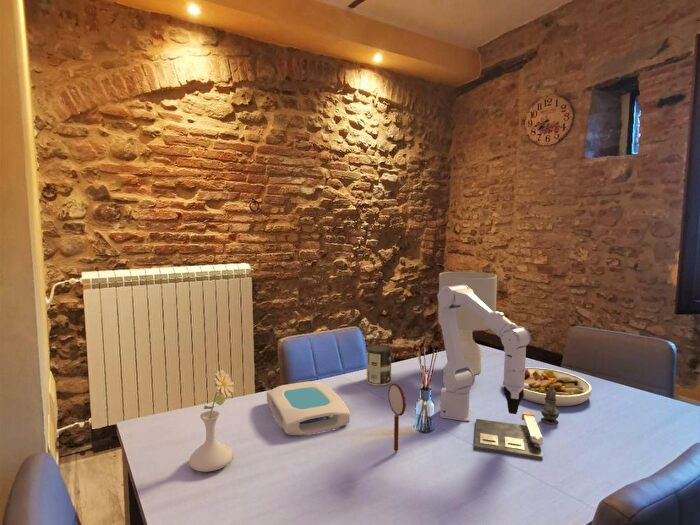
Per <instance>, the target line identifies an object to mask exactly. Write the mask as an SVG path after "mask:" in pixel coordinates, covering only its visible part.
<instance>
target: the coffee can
mask: <svg viewBox="0 0 700 525" xmlns="http://www.w3.org/2000/svg"><path fill="white" fill-rule="evenodd" d="M365 350H366V383H367V384H369V385H370V386H377V387H378V386H379V387H380V386H381V387H382V386H388V385H390V384H391V383H392V347H391V346H389V345H386V344H371V345H368V346H367V347H366V349H365Z"/></svg>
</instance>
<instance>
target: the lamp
mask: <svg viewBox="0 0 700 525" xmlns="http://www.w3.org/2000/svg"><path fill="white" fill-rule="evenodd" d="M497 283H498V275H497V274H493V273H487V272H478V271H445V272H440V273H439V275H438V292H439V291H440V289H441V288H442V287H445V286H448V287H449V286H457V285H461V284H464V285H467V286H468V287H469V288H470V289H472V290H473V293H474V294H475V295H476V296H477V297H478V298H479V299H480V300H481V301H482V302H483V303H484V304H485V305H486V306H487V307H488V308H489V309H491V310H492V311H493V312H494V311H497V290H498V289H497V288H498V287H497V285H498V284H497ZM437 316H438V318H437V319H438V321H437V323H438V325H440V326H441V322H440V317H439V312H438V315H437ZM456 319H457V325H458V330H459V335H460V340H461V346H462V351H463V356H464V360H465V361H466V362H468V363H469V364H470V367H471V370H472V372H473V374H474V376H476V375H479V374H480V373H481V372H482V357H483V355H482V353H483V352H482V349H481V347H480V345H479V344H478V343H477V342H475V340H474V338H473V332H474V331H476V332H478V331H487V330H491V329H490V328H488V327H487V326H486V324H485V319H484V318H482V317H481V316H480V315H478V314H477V313H476V312H474V311H473V310H472V309H470V308H469V307H468V306H461V307H460V308H459V309H458V311H457V312H456ZM459 370H460V369H459Z"/></svg>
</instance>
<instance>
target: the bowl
mask: <svg viewBox="0 0 700 525" xmlns="http://www.w3.org/2000/svg"><path fill="white" fill-rule="evenodd" d="M524 383H527V384H528V385H529V387H528V388H524V389H523V390H524V396H523V398H522V399H524V400H527V401H529V402H533V403H536V404H540V405H544V406H545V398H546V390H547V389H548V388H550V386H552V388H553V389H554V390H555V391H556V400H557V401H556V405H555V406H556V407H570V406H576V405H581V404H583V403H585V402H586V401H587V400H588V399H589V398H590V396H591V394H592V385H591V384H590V383H589V382H588V381H586V379H584V378H581V377H579V376H577V375H575V374H572V373H569V372H564V371H562V370H557V369H550V368H544V367H525V379H524Z"/></svg>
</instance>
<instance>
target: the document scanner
mask: <svg viewBox="0 0 700 525" xmlns="http://www.w3.org/2000/svg"><path fill="white" fill-rule="evenodd" d="M266 402H267V405H268V407H269V409H271V410H270V412H271V411H272V412H271V414H272V413H273V414H272V416H273V415H274V416H275V418H276V419H275V418H274V419H275V421H276V420H277V421H276V423H277V422H278V423H277V425H278V424H279V425H280V426H279V425H278V426H279V428H280V427H281V428H282V429H283V430H282V429H281V428H280V429H281V430H282V431H283V432H284V433H285V434H287V435H290V436H298V435H299V436H298V437H303V436H302V435H306V436H309V435H308V434H311V435H314V434H313V433H316V434H319V433H318V432H321V433H324V432H323V431H325V432H329V431H328V430H330V431H334V430H333V429H335V430H337V429H340V428H341V427H343V426H345V425H348V424H349V423H351V422H350V421H351V411H350V410H349V408H348V406H347V405H346V403H345V402H344V400H343V399H342V398H341V397H340V396H339V395H338V394H337V393H336V392H335V391H334V390H333V388H331V387H330V386H329V385H326V384H324V383H321V382H316V381H315V382H314V381H310V380H309V381H303V382H296V383H295V382H294V383H288V384H283V385H278V386H276V387H273V389H270V390H267V391H266ZM274 416H273V417H274ZM323 417H327V418H326V419H323V420H319V421H314V422H309V423H301V422H304V421H307V420H313V419H316V418H323Z"/></svg>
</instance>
